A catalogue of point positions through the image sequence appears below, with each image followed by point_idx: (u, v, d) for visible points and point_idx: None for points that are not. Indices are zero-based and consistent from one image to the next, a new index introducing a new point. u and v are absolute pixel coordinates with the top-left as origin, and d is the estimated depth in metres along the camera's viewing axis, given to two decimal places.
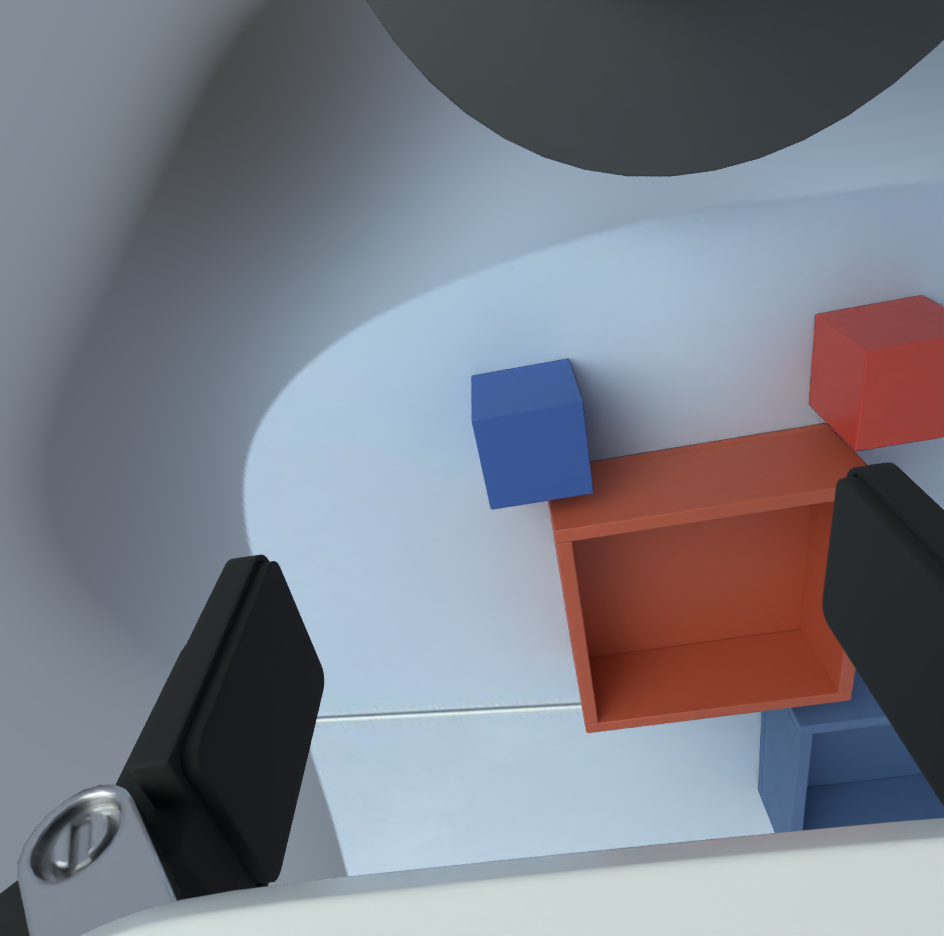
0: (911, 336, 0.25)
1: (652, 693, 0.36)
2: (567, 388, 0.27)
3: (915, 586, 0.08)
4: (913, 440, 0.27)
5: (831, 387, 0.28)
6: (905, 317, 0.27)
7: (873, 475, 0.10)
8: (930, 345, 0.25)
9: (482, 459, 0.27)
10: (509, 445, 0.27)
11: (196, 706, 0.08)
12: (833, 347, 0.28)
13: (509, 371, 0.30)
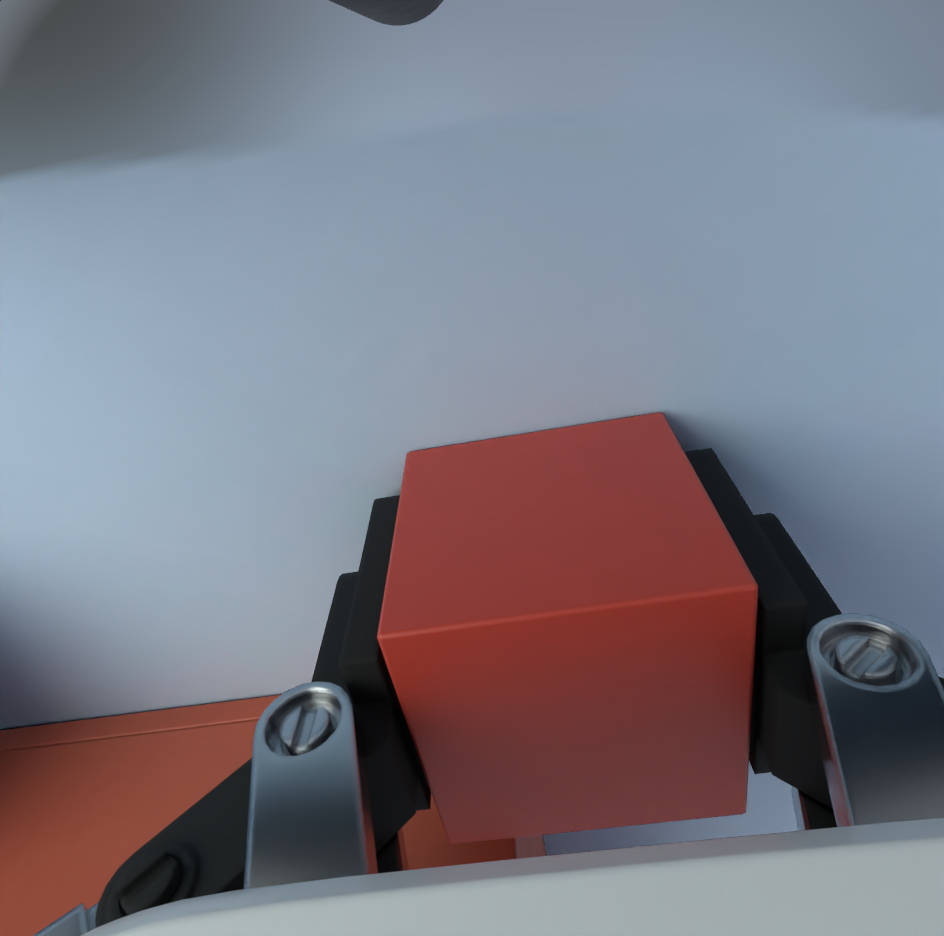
0: (531, 583, 0.08)
1: None
2: None
3: None
4: (598, 825, 0.10)
5: None
6: (576, 490, 0.10)
7: (691, 459, 0.11)
8: (571, 624, 0.08)
9: None
10: None
11: None
12: None
13: None
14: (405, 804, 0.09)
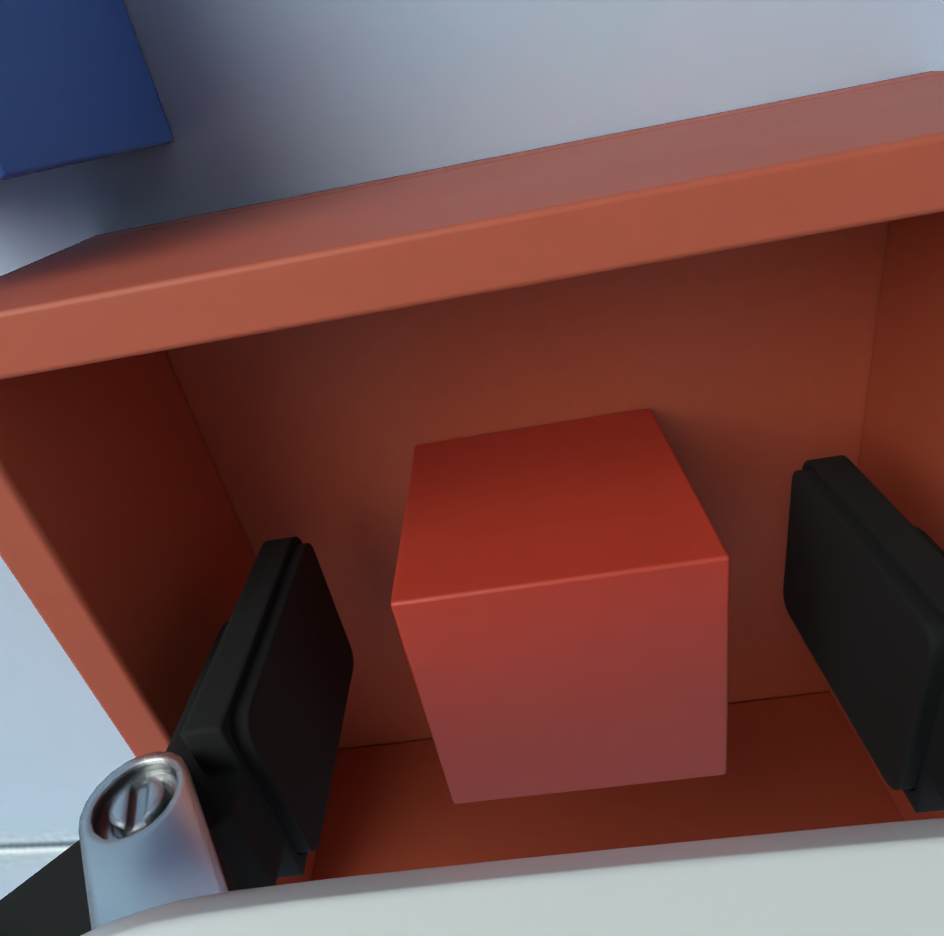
0: (528, 556, 0.09)
1: (456, 858, 0.14)
2: None
3: (859, 573, 0.09)
4: (591, 785, 0.11)
5: None
6: (570, 477, 0.11)
7: (825, 467, 0.10)
8: (565, 592, 0.09)
9: None
10: None
11: (243, 678, 0.09)
12: None
13: None
14: (260, 878, 0.08)
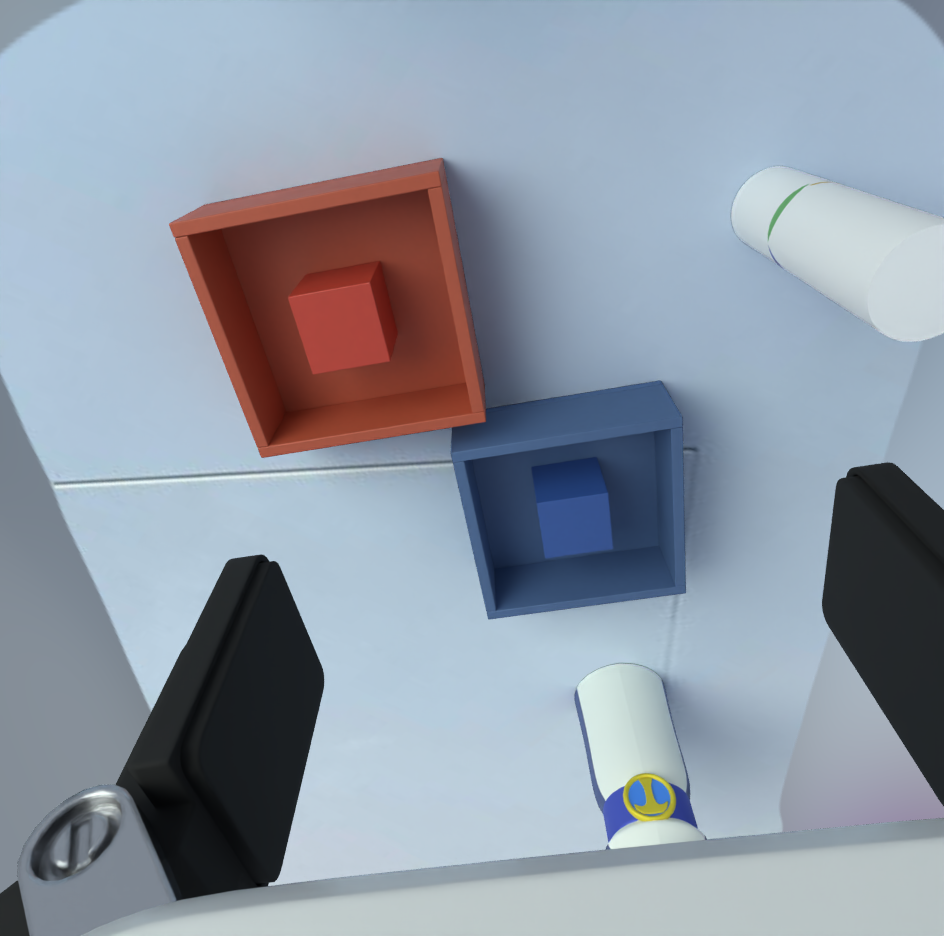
0: (324, 287, 0.35)
1: (324, 426, 0.40)
2: (597, 482, 0.42)
3: (915, 586, 0.08)
4: (352, 366, 0.36)
5: None
6: (345, 275, 0.36)
7: (873, 475, 0.10)
8: (331, 293, 0.34)
9: (541, 527, 0.42)
10: (560, 519, 0.42)
11: (196, 706, 0.08)
12: None
13: (557, 465, 0.44)
14: None
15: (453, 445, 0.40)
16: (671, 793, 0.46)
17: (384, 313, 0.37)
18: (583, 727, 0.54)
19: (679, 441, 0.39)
